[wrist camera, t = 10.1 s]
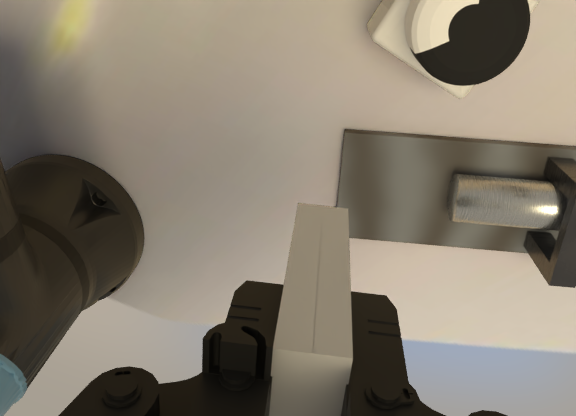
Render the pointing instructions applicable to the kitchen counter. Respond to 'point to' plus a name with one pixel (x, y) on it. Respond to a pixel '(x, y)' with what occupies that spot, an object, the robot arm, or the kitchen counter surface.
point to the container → (453, 37)
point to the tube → (505, 202)
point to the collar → (572, 235)
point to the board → (431, 186)
